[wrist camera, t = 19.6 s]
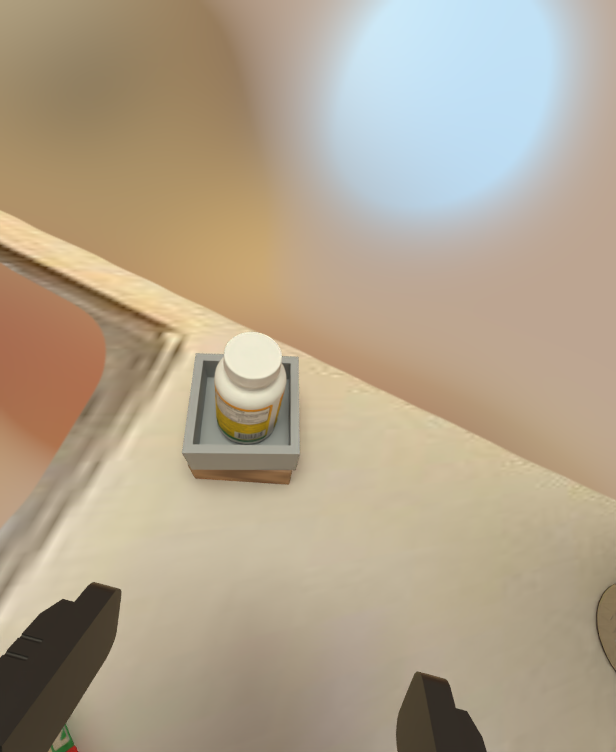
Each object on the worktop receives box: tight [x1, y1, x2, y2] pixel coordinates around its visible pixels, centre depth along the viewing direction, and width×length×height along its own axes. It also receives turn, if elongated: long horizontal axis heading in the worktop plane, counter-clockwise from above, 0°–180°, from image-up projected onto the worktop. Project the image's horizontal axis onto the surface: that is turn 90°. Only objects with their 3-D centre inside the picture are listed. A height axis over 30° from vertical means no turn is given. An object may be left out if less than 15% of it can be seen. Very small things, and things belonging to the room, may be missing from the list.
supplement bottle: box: [214, 332, 286, 444], centre depth 31 cm, size 5×5×10 cm
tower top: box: [182, 353, 300, 470], centre depth 34 cm, size 9×9×4 cm
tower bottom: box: [188, 464, 292, 484], centre depth 38 cm, size 9×9×4 cm
